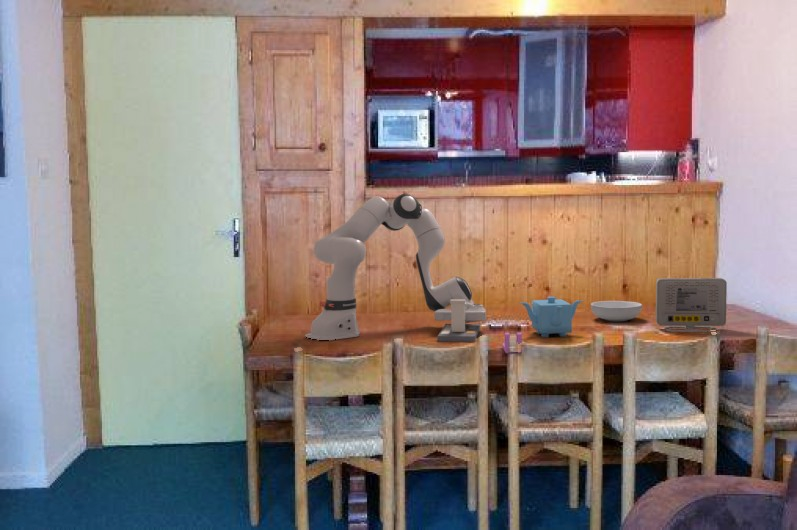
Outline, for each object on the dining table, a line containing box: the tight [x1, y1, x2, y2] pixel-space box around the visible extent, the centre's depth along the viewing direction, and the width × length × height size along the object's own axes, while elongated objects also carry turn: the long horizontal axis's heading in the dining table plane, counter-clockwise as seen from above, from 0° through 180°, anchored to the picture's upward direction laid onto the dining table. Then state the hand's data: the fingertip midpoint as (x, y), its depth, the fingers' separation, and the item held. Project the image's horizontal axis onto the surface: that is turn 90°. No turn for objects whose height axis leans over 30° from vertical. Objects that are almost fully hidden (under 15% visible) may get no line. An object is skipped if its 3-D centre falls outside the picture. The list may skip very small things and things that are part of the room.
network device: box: [655, 277, 728, 333], centre depth 320 cm, size 26×9×20 cm, turn 80°
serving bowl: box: [590, 300, 643, 323], centre depth 347 cm, size 21×21×7 cm
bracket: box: [502, 332, 523, 354], centre depth 293 cm, size 13×6×7 cm, turn 179°
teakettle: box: [520, 296, 584, 338], centre depth 317 cm, size 19×19×15 cm
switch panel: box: [437, 323, 481, 343], centre depth 323 cm, size 26×14×2 cm, turn 170°
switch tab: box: [450, 299, 466, 332], centre depth 317 cm, size 3×6×12 cm, turn 80°
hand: (458, 318), depth 318 cm, fingers closed, pressing on switch tab
